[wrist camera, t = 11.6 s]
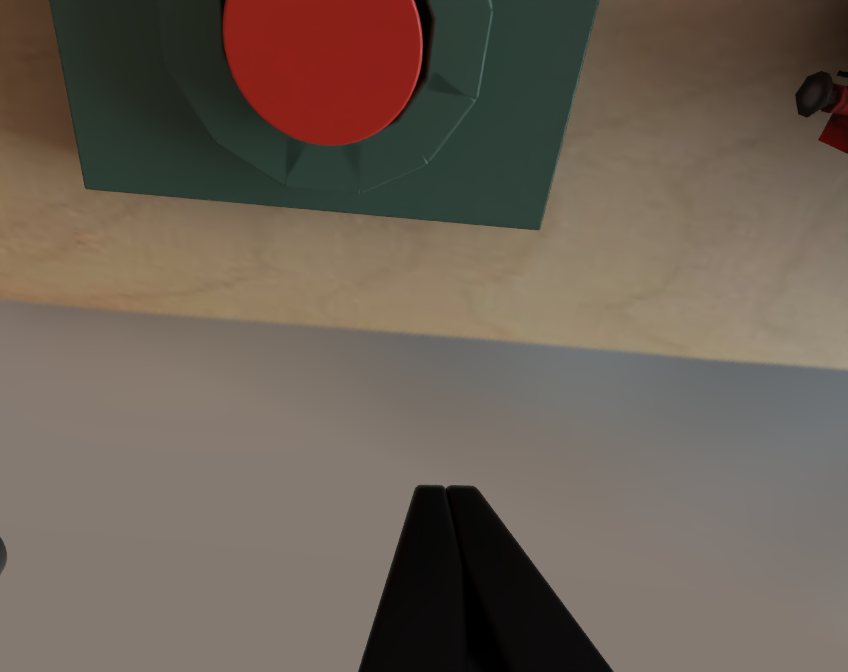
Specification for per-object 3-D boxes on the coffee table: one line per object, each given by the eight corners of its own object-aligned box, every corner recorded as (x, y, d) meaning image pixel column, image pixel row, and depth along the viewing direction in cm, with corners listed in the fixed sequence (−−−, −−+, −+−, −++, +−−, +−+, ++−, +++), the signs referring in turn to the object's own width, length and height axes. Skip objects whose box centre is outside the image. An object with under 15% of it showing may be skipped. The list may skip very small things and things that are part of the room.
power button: (242, 113, 13) (227, 136, 12) (235, -87, 11) (215, -91, 10) (405, 131, 14) (411, 155, 12) (427, -58, 12) (436, -56, 10)
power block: (114, 161, 17) (53, 218, 14) (44, -283, 12) (-79, -363, 9) (523, 201, 19) (557, 261, 15) (611, -172, 14) (689, -204, 10)
